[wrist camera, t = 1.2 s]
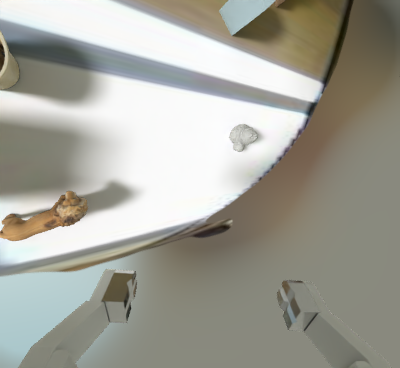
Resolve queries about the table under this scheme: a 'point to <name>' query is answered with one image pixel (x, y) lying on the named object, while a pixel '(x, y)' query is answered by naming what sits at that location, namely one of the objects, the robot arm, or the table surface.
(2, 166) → the table surface
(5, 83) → the flower pot
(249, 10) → the tall brick
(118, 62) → the table surface
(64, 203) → the lion figurine
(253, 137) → the white rounded figure
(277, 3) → the tower base
